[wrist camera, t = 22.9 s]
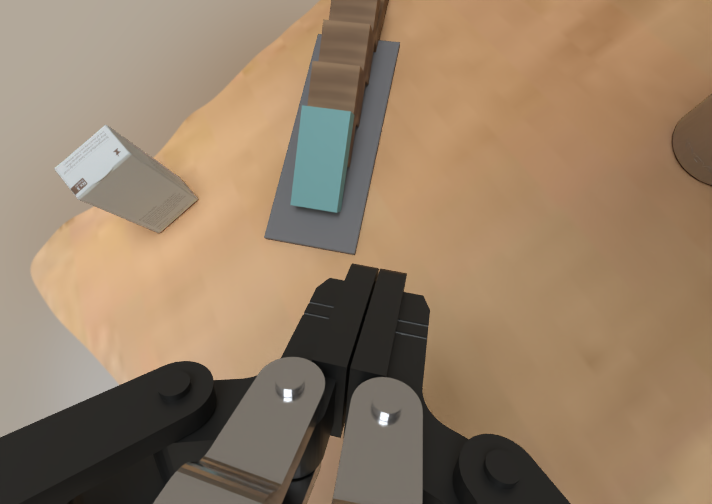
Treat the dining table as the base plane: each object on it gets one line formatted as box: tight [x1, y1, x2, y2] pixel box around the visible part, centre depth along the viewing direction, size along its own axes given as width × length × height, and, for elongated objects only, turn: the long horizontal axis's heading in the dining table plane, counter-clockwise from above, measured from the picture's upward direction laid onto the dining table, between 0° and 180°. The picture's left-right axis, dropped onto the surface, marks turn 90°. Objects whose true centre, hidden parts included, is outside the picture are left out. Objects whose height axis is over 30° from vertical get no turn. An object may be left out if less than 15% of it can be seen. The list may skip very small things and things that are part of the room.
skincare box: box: [55, 125, 198, 233], centre depth 40 cm, size 6×4×12 cm
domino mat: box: [264, 34, 400, 255], centre depth 45 cm, size 26×10×1 cm, turn 168°
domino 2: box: [319, 20, 373, 127], centre depth 43 cm, size 2×5×10 cm
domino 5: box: [373, 0, 388, 52], centre depth 48 cm, size 2×5×10 cm
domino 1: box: [329, 0, 381, 85], centre depth 44 cm, size 2×5×10 cm
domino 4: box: [290, 105, 354, 213], centre depth 41 cm, size 2×5×10 cm
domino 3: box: [307, 61, 363, 167], centre depth 42 cm, size 2×5×10 cm
